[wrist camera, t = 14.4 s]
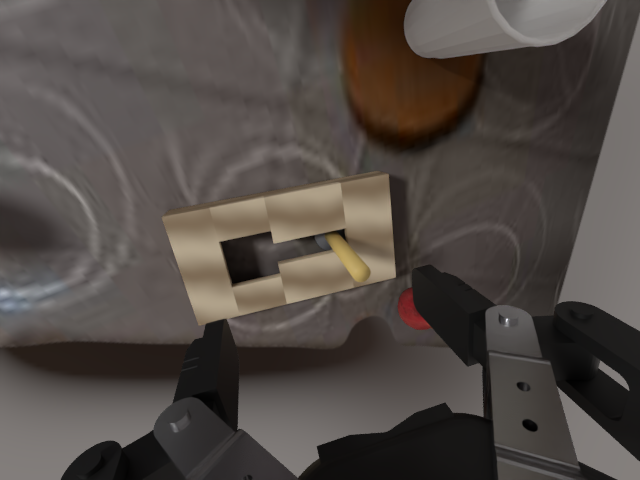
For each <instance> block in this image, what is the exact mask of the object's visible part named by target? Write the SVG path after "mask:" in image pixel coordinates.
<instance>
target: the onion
mask: <svg viewBox="0 0 640 480" xmlns="http://www.w3.org/2000/svg"><path fill="white" fill-rule="evenodd" d="M398 312H399V315H400V317H401V318H402V320H403V321H404V322H405V323H406V324H407V325H409V326H410V327H412V328H414V329H417V330H425V329H429V328H432V327H431V326H430V325H429V324H428V323H427V322H426V321H425V320H424V319H423V317H422V316H421V315H420V314H419V313H418V312H417V310H416V308H415V305H414V302H413V290H412V287H411V288H408V289H407V290H405V291H404V292H403V293H402V294H401V296H400V297H399V302H398ZM432 329H433V328H432Z"/></svg>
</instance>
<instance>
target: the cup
mask: <svg viewBox="0 0 640 480" xmlns="http://www.w3.org/2000/svg"><path fill="white" fill-rule="evenodd" d="M606 1H607V0H412V1H411V3H410V4H409V6H408V8H407V11H406V14H405V19H404V33H405V37H406V41H407V43H408V44H409V46H410V48H411V49H412V50H413V51H414V52H415V53H416V54H417V55H419V56H421V57H425V58H439V59H444V58H451V57H458V56H465V55H472V54H480V53H487V52H494V51H501V50H508V49H516V48H523V47H530V46H534V47H541V46H548V45H555V44H557V43H560V42H562V41H564V40H566V39H568V38H570V37H572V36H574V35H575V34H577V33H578V32H579V31H580V30H581V29H582V28H584V27H585V26H586V25H587V24H588V23H589V22H591V21H592V19H593V18H594V17H595V16H596V14H597V13H598V12H599V10H600V9H601V8H602V6H603V5H604V4H605V3H606Z"/></svg>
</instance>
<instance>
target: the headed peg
mask: <svg viewBox="0 0 640 480" xmlns="http://www.w3.org/2000/svg"><path fill="white" fill-rule="evenodd" d="M314 238H315V240H316V242H317V244H318V245H319V246H320V247H321V248H322V249H324V250H333V251H334V252H335V253H336V255H337V256H338V257H339V259H340V260H341V262H342V263H343V264H344V266H345V267H346V269H347V270H348V271H349V273H350V274H351V276H352V277H353V278H354V280H355V281H357V282H364V281H366V280H367V279H368V278H369V277H370V274H371V270H370V268H369V267H368V266H367V265H366V264H365V262H364V261H363V260H362V259H361V258H360V257H359V256H358V255H357V254H356V252H355V251H354V250H353V249H352V248H351V247H350V246H349V245H348V243H347V242H346V241H345V240H346V238H345V230H344V229H340V230H335V231H331V232H326V233H321V234H317V235H314Z"/></svg>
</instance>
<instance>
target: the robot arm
mask: <svg viewBox="0 0 640 480" xmlns="http://www.w3.org/2000/svg"><path fill="white" fill-rule="evenodd" d="M412 290H413V302H414V305H415V308H416V310H417V312H418V313H419V314H420V315H421V316H422V317H423V319H424V320H425V321H426V322H427V323H428V324H429V325H430V326H431V327H432V328H433V329H434V331H435V332H436V333H437V334H438V335H439V336H440V337H441V338H442V339H443V340H444V342H445V343H446V344H447V345H448V346H449V347H450V348H451V349H452V350H453V351H454V352H455V353H456V355H457V356H458V357H459V358H460V359H461V360H462V361H463V362H464V363H465V364H466V365H467V366H471V365H474V364H477V363H480V364H481V365H482V366H483V368H482V383H483V417H480V416H477V415H472V414H466V413H452V411H451V410H450V408H449V407H448V406H447V404H446V403H443V404H440V405H437V406H434V407H431V408H428V409H425V410H422V411H419V412H416V413H414V414H413V415H411V416H410V417H408V418H407V419H406V420H404V421H403V422H401V423H400V424H398V425H397V426H395V427H394V428H393V429H391V430H390V431H388V432H384V433H371V434H359V435H358V434H357V435H349V436H346V437H343V438H340V439H337V440H334V441H331V442H328V443H325V444H322V445H319V446H317V449H318V454H319V459H318V460H316V461H315V462H313V463H312V464H311V465H310V466H309V467H308V468H307V469H306V470H305V471H304V472H303V473H302V474H301V475H300V476H299V478H297V477H296V476H295V475H294V474H293V473H292V472H291V471H289V470H288V469H287V468H286V467H285V466H284V465H283V464H281V463H280V462H279V461H278V460H277V459H276V458H275V457H273V456H272V455H271V454H270V453H269V452H268V451H267V450H266V449H264V448H263V447H262V446H261V445H260V444H259V443H258V442H257V441H255V440H254V439H253V438H252V437H251V436H250V435H249V434H248V433H246V432H245V431H244V430H242V429H238V430H237V427H238V426H237V425H238V393H239V392H238V391H239V356H238V352H237V348H236V345H235V342H234V339H233V336H232V333H231V330H230V327H229V324H228V322H227V320H226V319H225V318H224V319H221V320H217V321H213V322H209V323H206V325H205V330H204V335H203V338H199V339H195V340H194V341H193V342H192V344H191V345H190V347H189V348H188V349H187V351H186V355H185V359H184V363H183V366H182V372H181V374H180V377H179V382H178V385H177V389H176V393H175V396H174V400H173V404H172V405H170V406H169V407H168V408H166V409H165V410H164V411H163V412H162V413H161V415H160V416H159V417H158V419H157V420H156V423H155V425H154V430H152V431H151V432H150V433H148V434H147V435H145V436H143V437H141V438H140V439H138V440H136V441H134V442H133V443H131V444H129V445H127V446H126V447H124V448H121V446H120V444H119V443H117V442H115V441H105V442H101V443H99V444H96V445H95V446H93V447H91V448H89V449H88V450H86V451H85V452H84V453H82V454H81V455H80V456H79V457H78V458H76V460H74V461H73V463H71V465H70V466H69V467H68V468H67V470H66V471H65V473H64V474H63V476H62V478H61V480H617V479H614V478H612V477H610V476H608V475H606V474H604V473H602V472H600V471H598V470H595V469H593V468H591V467H589V466H587V465H585V464H583V463H581V462H579V461H578V460H577V457H576V453H575V449H574V446H573V442H572V439H571V435H570V432H569V428H568V424H567V421H566V417H565V413H564V410H563V406H562V402H561V399H560V395H559V392H558V388H560V389H561V390H562V391H563V392H564V393H565V394H566V395H567V396H568V397H569V398H571V399H572V400H573V401H574V402H575V403H576V404H577V405H578V406H579V407H580V408H582V409H583V410H584V411H585V412H586V413H587V414H588V415H589V416H591V418H592V419H594V420H595V421H596V422H597V423H598V424H599V425H600V426H601V427H602V428H603V429H605V430H606V431H607V432H608V433H609V434H610V435H611V436H612V437H613V438H615V439H616V440H617V441H618V442H619V443H620V444H621V445H622V446H623V447H624V448H626V449H627V450H628V451H629V452H630V453H631V454H632V455H633V456H634V457H635V458H636V459H637V460H639V461H640V331H638V330H637V329H635V328H633V327H631V326H629V325H627V324H626V323H624V322H622V321H620V320H619V319H617V318H615V317H614V316H612V315H610V314H608V313H606V312H605V311H603V310H601V309H599V308H597V307H595V306H592V305H589V304H586V303H582V302H573V301H568V302H562V303H559V304H557V305H556V307H555V311H554V316H535V317H531V316H530V315H529V314H528V313H527V312H525V311H523V310H521V309H519V308H516V307H513V306H507V305H498V306H497V305H495V304H494V303H493V302H491V301H490V300H488V299H487V298H486V297H484V296H483V295H481V294H480V293H479V292H477V291H476V290H475V289H472V287H470V286H469V285H468V284H465V282H463V281H462V280H461V279H459V278H458V277H456V276H454V275H451V274H448V273H445V272H444V273H441V272H440V271H439V270H437V269H436V268H435V267H433V266H432V265H426V266H422V267H418V268H415V269H413V270H412ZM600 360H601V361H602V362H604V363H605V364H606V365H608V366H609V367H611V368H612V369H613V370H615V371H616V372H618V373H619V374H620V375H621V376H622V377H623V378H624V379H625V380H626V382H627V384H628V386H629V391H628V390H627V389H625V388H624V387H623V386H622V385H620V384H619V383H617V382H616V381H615V380H614V379H612V378H611V377H609V376H608V375H607V374H605V373H604V372H603V371H601V370H600V369H599V368H598V367H599V363H600ZM557 387H558V388H557Z"/></svg>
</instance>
